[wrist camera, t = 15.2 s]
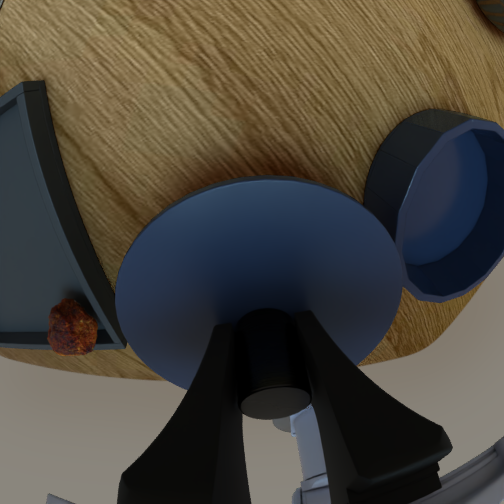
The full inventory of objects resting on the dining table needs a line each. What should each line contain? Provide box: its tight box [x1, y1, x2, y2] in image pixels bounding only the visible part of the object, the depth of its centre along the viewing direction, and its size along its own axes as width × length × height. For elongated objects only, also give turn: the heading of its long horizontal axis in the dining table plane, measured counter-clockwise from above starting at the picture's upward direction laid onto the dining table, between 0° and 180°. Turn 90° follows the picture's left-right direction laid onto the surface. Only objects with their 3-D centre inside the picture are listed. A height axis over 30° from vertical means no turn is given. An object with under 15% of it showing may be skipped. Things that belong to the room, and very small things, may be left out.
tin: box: [364, 109, 504, 303], centre depth 13 cm, size 11×11×4 cm
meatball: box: [47, 298, 98, 356], centre depth 15 cm, size 4×4×4 cm
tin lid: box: [115, 175, 403, 420], centre depth 10 cm, size 12×12×5 cm
